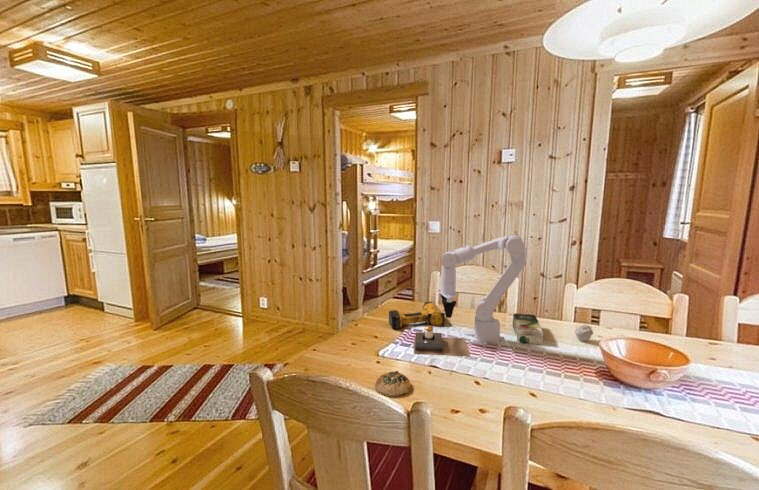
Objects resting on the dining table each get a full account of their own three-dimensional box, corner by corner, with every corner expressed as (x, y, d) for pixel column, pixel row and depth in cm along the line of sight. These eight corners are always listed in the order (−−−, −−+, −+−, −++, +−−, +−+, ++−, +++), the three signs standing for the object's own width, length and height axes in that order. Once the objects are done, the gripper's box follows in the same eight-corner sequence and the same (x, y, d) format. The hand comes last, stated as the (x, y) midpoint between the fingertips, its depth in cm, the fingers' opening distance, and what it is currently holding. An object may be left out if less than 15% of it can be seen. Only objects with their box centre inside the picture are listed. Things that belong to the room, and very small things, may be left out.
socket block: (441, 340, 139) (441, 333, 139) (442, 351, 129) (442, 343, 129) (415, 339, 140) (415, 332, 140) (415, 350, 130) (415, 342, 130)
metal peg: (432, 343, 136) (433, 325, 135) (433, 347, 133) (433, 328, 132) (424, 343, 137) (424, 325, 136) (424, 346, 133) (424, 328, 132)
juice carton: (544, 346, 136) (545, 330, 135) (517, 343, 139) (518, 328, 138) (535, 327, 155) (536, 314, 155) (511, 326, 158) (512, 312, 157)
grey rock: (580, 344, 136) (582, 327, 135) (570, 337, 143) (571, 321, 142) (596, 344, 137) (597, 327, 136) (585, 337, 144) (586, 320, 143)
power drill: (384, 313, 176) (432, 310, 179) (392, 331, 152) (448, 327, 156) (383, 299, 175) (432, 296, 178) (392, 315, 151) (448, 312, 155)
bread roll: (389, 374, 115) (391, 360, 114) (418, 390, 109) (419, 376, 107) (367, 389, 107) (368, 375, 106) (396, 408, 100) (397, 393, 99)
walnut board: (464, 340, 141) (464, 338, 141) (470, 358, 125) (470, 356, 125) (414, 338, 143) (414, 336, 143) (413, 356, 128) (413, 353, 127)
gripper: (437, 277, 150) (437, 308, 152) (439, 286, 136) (438, 320, 138) (454, 277, 149) (453, 308, 151) (458, 286, 135) (457, 320, 137)
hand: (447, 314), depth 145 cm, fingers open, 7 cm apart
